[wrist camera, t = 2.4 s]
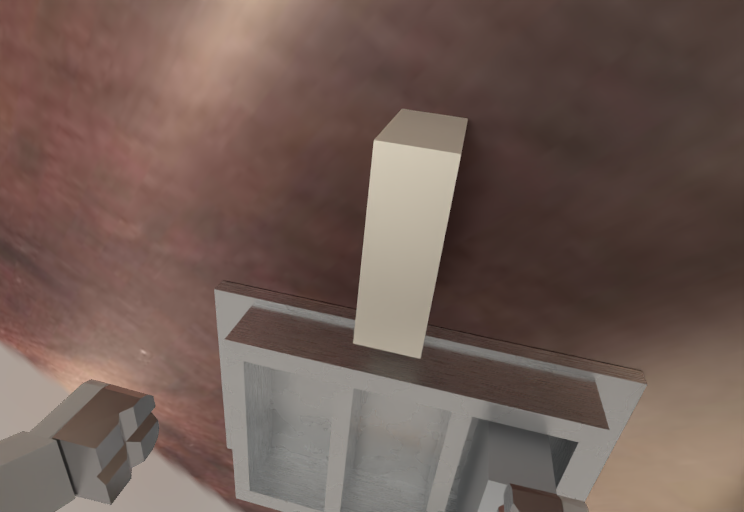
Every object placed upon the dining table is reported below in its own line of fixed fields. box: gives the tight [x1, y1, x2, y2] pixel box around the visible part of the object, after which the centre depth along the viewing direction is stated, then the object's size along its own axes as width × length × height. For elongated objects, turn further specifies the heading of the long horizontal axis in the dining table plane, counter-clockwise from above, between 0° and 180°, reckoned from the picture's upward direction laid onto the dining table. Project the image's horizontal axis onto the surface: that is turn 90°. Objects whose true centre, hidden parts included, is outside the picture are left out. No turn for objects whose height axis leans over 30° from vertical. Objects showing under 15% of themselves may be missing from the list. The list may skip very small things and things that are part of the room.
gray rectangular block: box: [456, 418, 557, 512], centre depth 25 cm, size 3×9×6 cm, turn 174°
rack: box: [214, 281, 647, 512], centre depth 28 cm, size 24×15×5 cm, turn 84°
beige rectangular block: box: [353, 109, 468, 359], centre depth 20 cm, size 3×9×6 cm, turn 174°
